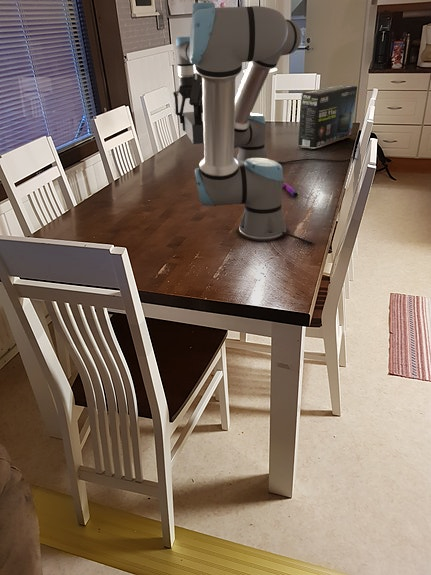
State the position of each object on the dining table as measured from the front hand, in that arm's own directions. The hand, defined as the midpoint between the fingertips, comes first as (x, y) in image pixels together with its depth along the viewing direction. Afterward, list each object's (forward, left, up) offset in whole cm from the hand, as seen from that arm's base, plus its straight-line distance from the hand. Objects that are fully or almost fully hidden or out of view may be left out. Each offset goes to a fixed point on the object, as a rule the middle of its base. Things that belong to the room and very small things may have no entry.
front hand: (208, 121), depth 166 cm
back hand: (+34, -38, -13) cm, 53 cm away
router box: (-14, -95, -28) cm, 101 cm away
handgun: (-22, -18, -28) cm, 40 cm away
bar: (+26, -30, -14) cm, 42 cm away
